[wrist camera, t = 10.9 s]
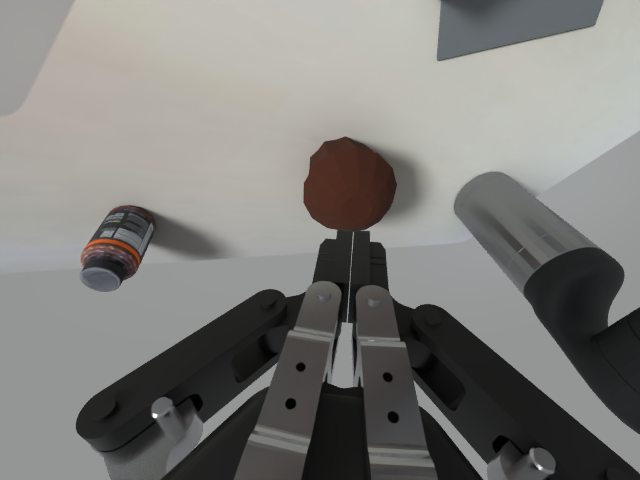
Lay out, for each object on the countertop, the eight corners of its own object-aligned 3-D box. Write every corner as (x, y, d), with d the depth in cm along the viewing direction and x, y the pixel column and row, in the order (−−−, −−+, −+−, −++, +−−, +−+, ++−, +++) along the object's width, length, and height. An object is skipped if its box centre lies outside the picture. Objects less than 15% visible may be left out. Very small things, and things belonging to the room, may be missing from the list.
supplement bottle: (134, 243, 44) (102, 304, 36) (98, 215, 41) (53, 276, 32) (166, 226, 43) (141, 285, 35) (132, 196, 39) (95, 254, 31)
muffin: (281, 172, 40) (284, 215, 33) (338, 107, 36) (357, 139, 28) (341, 216, 46) (356, 260, 39) (396, 164, 42) (425, 203, 34)
